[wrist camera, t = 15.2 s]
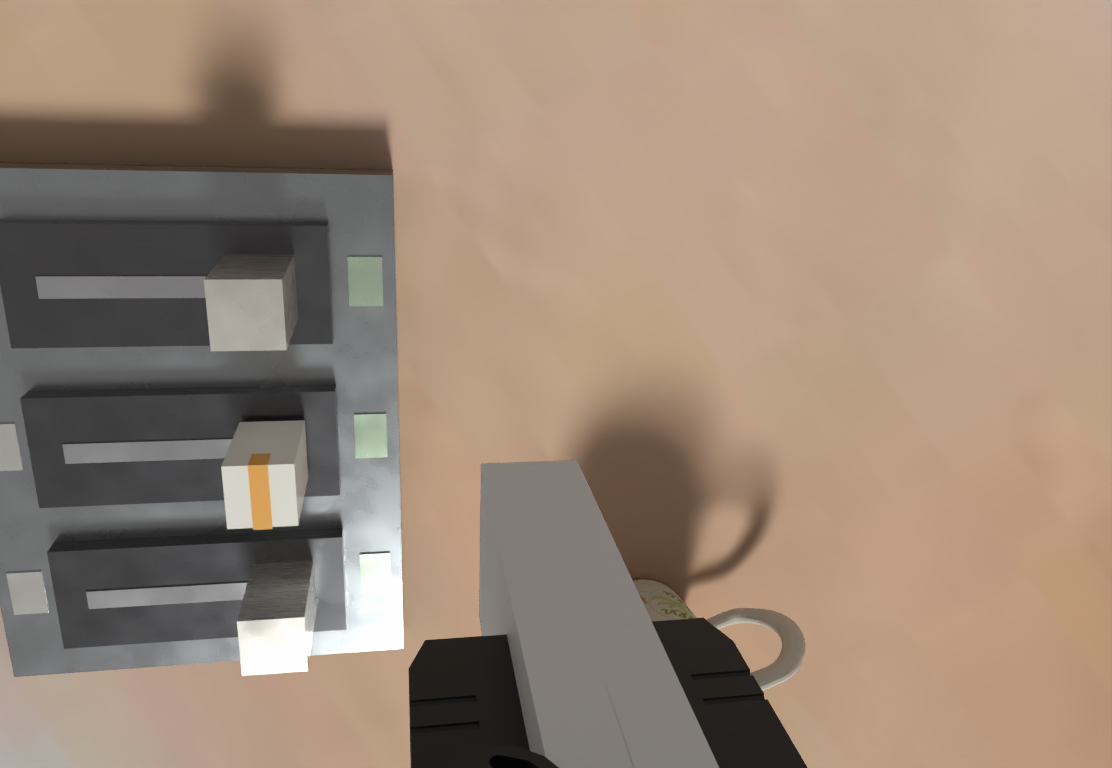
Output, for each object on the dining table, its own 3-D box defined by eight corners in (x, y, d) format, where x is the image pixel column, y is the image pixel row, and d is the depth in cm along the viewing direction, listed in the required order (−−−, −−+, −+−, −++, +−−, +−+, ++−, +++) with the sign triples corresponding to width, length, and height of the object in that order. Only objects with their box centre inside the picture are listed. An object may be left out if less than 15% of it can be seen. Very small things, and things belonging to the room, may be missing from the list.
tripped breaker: (239, 421, 42) (220, 466, 38) (304, 419, 43) (293, 463, 38) (244, 479, 43) (226, 531, 39) (308, 477, 44) (298, 527, 39)
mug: (552, 588, 53) (586, 702, 43) (750, 519, 53) (826, 615, 44) (589, 695, 56) (628, 821, 46) (776, 628, 56) (851, 739, 47)
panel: (-66, 161, 40) (-171, 184, 32) (392, 170, 43) (393, 193, 36) (28, 653, 48) (-37, 760, 41) (403, 627, 52) (405, 722, 44)
